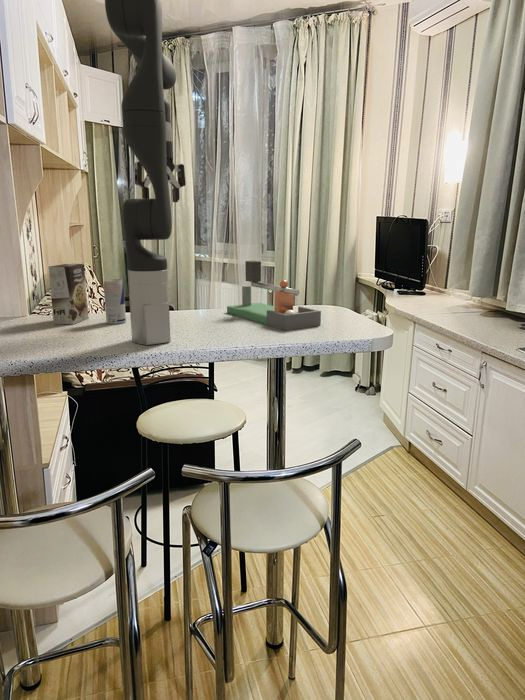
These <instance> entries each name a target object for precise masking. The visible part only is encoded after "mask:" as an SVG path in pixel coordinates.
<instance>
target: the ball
mask: <svg viewBox="0 0 525 700" xmlns="http://www.w3.org/2000/svg"><path fill="white" fill-rule="evenodd" d="M296 312H297V311H295V310H294V309H293V310H287V311H285V312H284V314H286V315H287V314H295V313H296Z"/></svg>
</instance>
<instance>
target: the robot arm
mask: <svg viewBox="0 0 525 700" xmlns="http://www.w3.org/2000/svg"><path fill="white" fill-rule="evenodd" d="M162 6H163V5H162V0H104V7H105V13H106V18H107V22H108V25H109V27H110V28H111V30H112V32H113V33H114V34H115V36H116V38H118V39H119V40H120V41H121V43H122V44H123V45H124V46H125V48H126V49H127V50H128V51H129V52H130V53H131V54H132V57H133V59H134V61H135V68H134V75H133V77H132V79H131V81H130V82H129V84H128V87H127V88H126V91H125V92H124V95H123V97H122V101H121V118H122V119H121V120H122V131H123V136H124V140H125V142H126V144H127V145H128V147H129V148H130V150H131V151H132V153H133V155H134V156H135V158H136V160H138V161H136V162H134V184H135V185H136V186H139V187H140V188H141V196H142V197H141V198H127V199H125V200H124V202H123V205H122V210H121V212H122V213H121V218H122V226H123V234H124V235H123V236H124V242H125V257H126V264H127V265H126V267H127V268H126V269H127V280H128V281H127V283H128V296H129V297H128V298H129V315H130V330H131V341H132V343H134V344H140V345H145V346H151V345H158V344H163V343H170V342H171V341H172V340H171V321H170V299H169V298H170V295H169V275H168V273H169V271H168V259H167V258H166V257H165V256H164V255H162V254H159V253H155V252H153V251H151V250H149V249H147V248H146V247H145V246H144V245H143V243H142V242H141V241H143V240H144V241H156V240H160V241H165V240H168V239H169V238H171V237H170V236H171V235H172V230H173V228H172V227H173V218H172V207H171V200H172V203H178V202H179V201H180V198H181V197H180V189H181V188H182V187H185V186H186V183H187V182H186V171H185V165H184V164H183V163H179V164H175V163H174V144H173V129H172V122H171V121H172V120H171V119H172V118H171V104H170V102H169V100H167V99H165V96H164V95H165V94H164V90H170V89H172V88H173V87H174V86H175V84H176V81H177V72H176V69H175V65H174V63H173V62H172V61H171V59H170V58H169V57H168V56H167V55H165V54H164V53H163V12H162V11H163V9H162V8H163V7H162ZM143 171H145V173H146V175H145V176H144V179H143ZM174 171H175V172H176V174H177V178H176V176H175V175H174V173H173V172H174ZM150 184H151V186H152V189H153V192H154V197H155V198H150V188H149V186H150ZM169 184H170V185H171V187H172V188H171V195H172V197H171V196H170V189H169ZM171 198H172V199H171Z"/></svg>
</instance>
